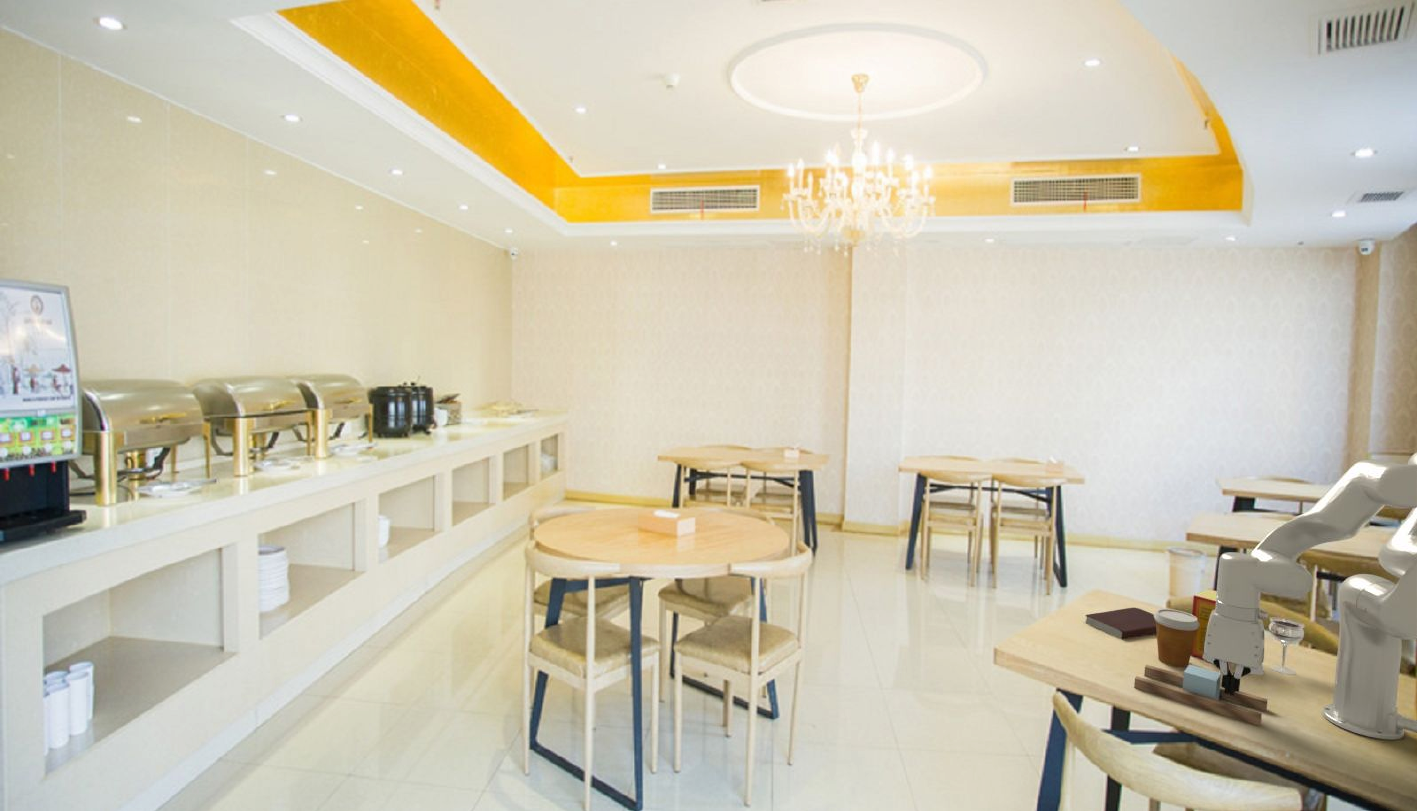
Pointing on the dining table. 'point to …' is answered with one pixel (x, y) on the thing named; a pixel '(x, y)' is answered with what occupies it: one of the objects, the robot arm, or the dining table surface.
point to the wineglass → (1285, 637)
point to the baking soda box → (1202, 619)
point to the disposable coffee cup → (1175, 636)
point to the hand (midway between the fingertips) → (1229, 692)
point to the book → (1124, 622)
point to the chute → (1201, 700)
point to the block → (1202, 682)
